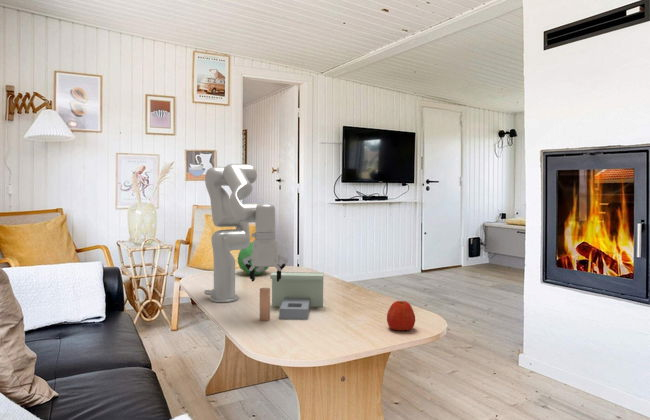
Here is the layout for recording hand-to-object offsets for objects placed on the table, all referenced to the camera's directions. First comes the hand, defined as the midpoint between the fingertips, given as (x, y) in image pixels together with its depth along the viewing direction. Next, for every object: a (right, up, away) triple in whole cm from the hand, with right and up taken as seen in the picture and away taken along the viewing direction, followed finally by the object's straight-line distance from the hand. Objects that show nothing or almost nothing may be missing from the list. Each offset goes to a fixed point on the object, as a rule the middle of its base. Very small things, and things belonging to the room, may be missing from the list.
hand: (265, 280), depth 168 cm
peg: (-1, -15, +1) cm, 15 cm away
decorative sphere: (-19, -11, +88) cm, 90 cm away
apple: (+50, -16, -8) cm, 54 cm away
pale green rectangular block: (+11, -14, +18) cm, 25 cm away
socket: (+11, -15, +11) cm, 21 cm away
